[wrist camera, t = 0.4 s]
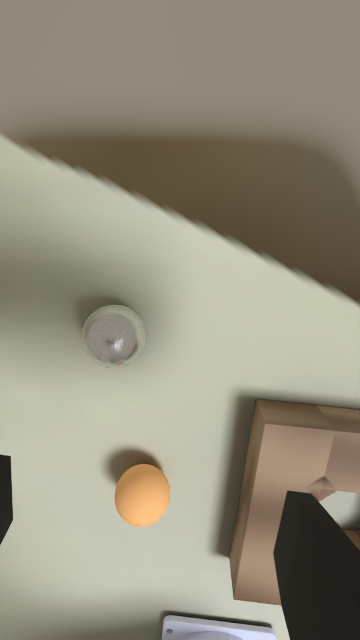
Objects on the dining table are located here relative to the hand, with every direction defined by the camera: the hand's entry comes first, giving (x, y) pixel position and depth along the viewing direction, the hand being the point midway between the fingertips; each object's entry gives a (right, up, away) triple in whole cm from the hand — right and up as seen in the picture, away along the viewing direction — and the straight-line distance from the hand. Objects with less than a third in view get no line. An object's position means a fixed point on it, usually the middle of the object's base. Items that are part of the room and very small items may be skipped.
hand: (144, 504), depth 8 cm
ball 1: (-2, +4, +8) cm, 9 cm away
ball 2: (-1, -5, +10) cm, 12 cm away
